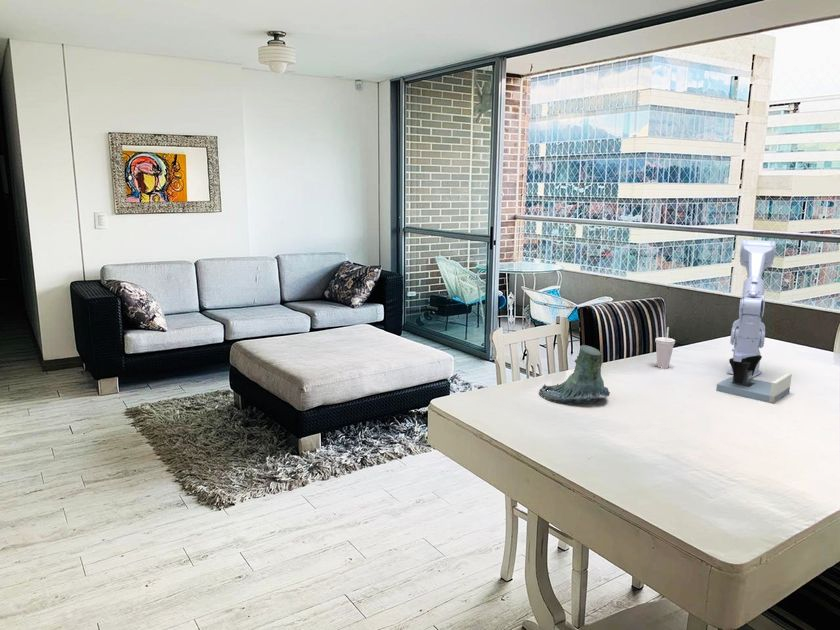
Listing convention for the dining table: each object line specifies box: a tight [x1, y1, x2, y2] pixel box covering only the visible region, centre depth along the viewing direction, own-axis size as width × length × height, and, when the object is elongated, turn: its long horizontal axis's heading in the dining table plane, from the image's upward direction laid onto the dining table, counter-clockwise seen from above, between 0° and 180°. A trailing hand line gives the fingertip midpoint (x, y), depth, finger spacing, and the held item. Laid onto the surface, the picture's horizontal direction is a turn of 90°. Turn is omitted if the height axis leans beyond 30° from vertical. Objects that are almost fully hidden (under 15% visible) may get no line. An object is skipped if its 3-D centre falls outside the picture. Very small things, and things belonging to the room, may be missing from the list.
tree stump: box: [538, 344, 611, 405], centre depth 185 cm, size 18×20×18 cm
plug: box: [732, 370, 753, 387], centre depth 195 cm, size 4×4×6 cm
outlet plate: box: [715, 372, 792, 404], centre depth 192 cm, size 14×16×6 cm
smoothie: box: [654, 326, 676, 369], centre depth 217 cm, size 6×6×14 cm
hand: (743, 380), depth 194 cm, fingers open, 7 cm apart
